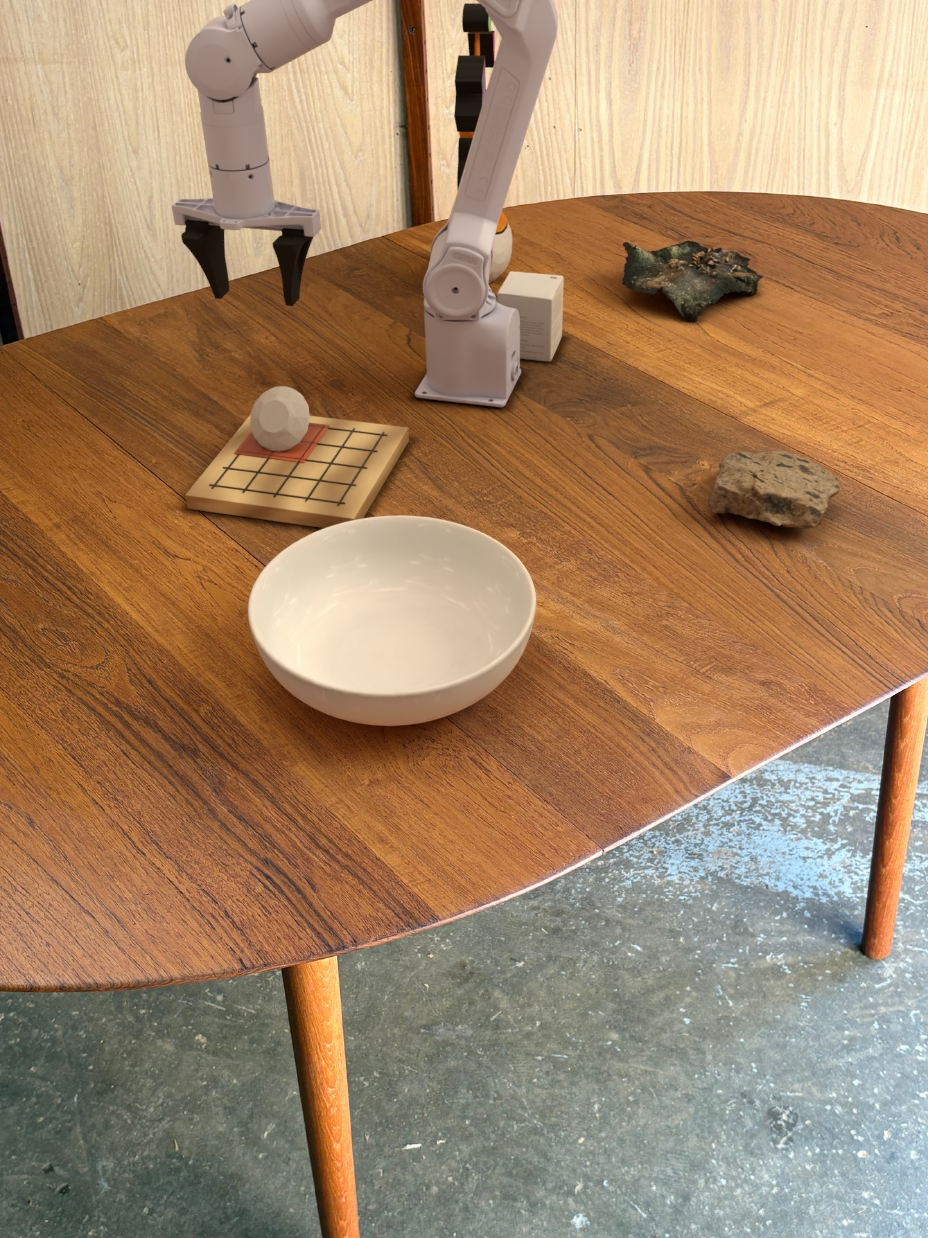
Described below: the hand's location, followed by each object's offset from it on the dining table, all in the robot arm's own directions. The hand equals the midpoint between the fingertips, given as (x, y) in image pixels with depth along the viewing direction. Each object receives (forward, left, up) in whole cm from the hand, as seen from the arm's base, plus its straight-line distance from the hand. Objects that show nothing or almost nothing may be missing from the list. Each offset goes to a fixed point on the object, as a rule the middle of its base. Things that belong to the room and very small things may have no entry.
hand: (257, 298), depth 122 cm
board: (-10, +16, -9) cm, 21 cm away
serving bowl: (-27, +40, -10) cm, 49 cm away
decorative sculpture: (-15, -30, -10) cm, 35 cm away
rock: (-53, +11, -10) cm, 55 cm away
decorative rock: (-40, -34, -10) cm, 53 cm away
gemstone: (-7, +13, -8) cm, 17 cm away
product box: (-25, -14, -10) cm, 30 cm away
